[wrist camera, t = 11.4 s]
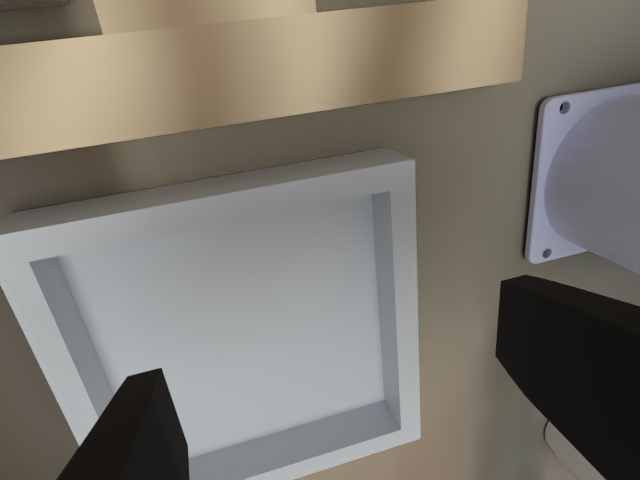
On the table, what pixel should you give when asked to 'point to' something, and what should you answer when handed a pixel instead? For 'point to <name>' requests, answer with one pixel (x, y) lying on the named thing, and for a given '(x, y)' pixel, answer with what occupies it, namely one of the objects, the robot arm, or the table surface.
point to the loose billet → (29, 4)
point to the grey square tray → (236, 309)
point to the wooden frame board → (244, 65)
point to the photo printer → (570, 455)
